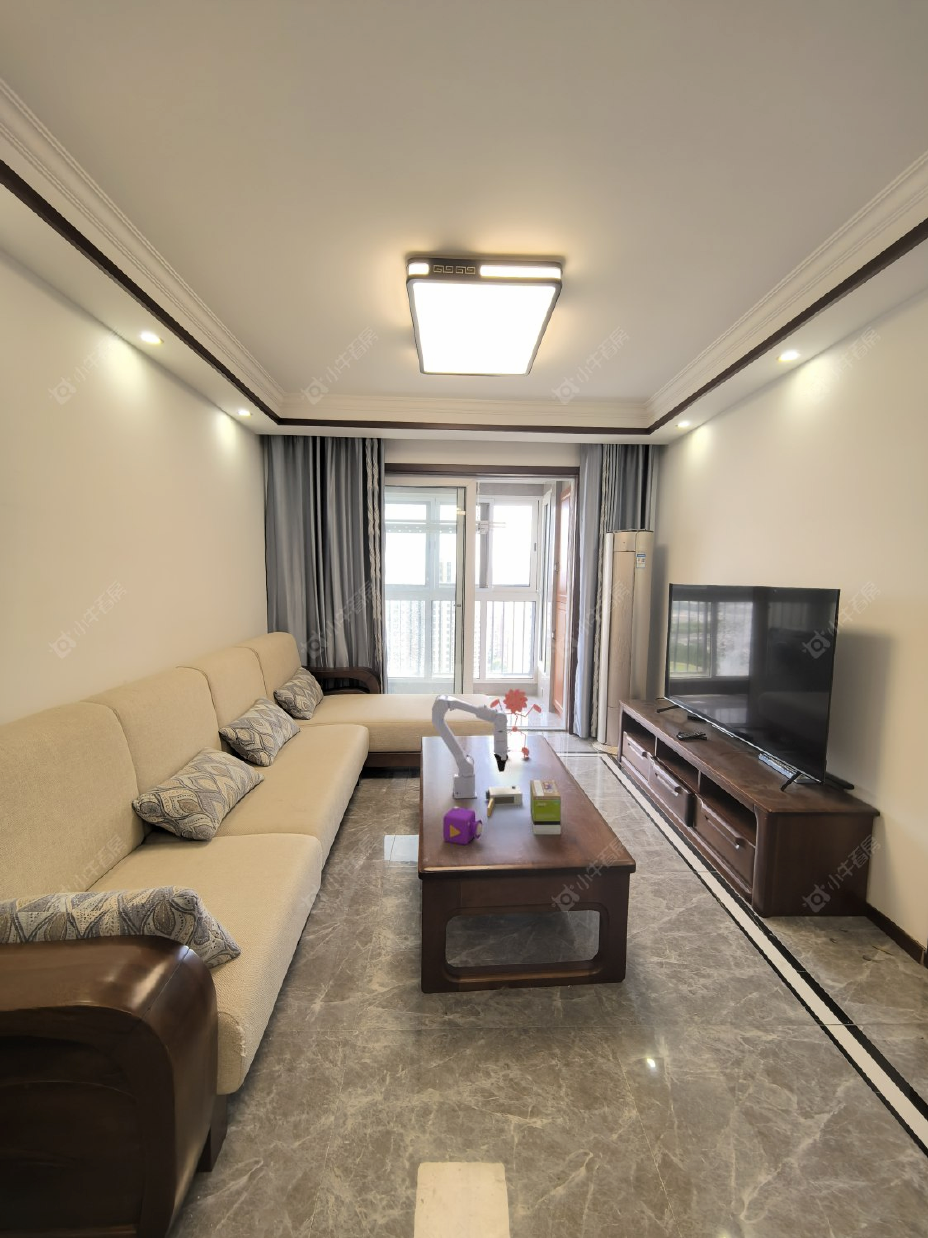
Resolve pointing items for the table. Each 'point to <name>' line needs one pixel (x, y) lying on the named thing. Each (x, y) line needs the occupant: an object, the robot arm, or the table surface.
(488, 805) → the side door
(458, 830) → the toy camera
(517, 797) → the white knobbed box
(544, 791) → the tea box
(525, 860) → the table surface
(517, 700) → the figurine
